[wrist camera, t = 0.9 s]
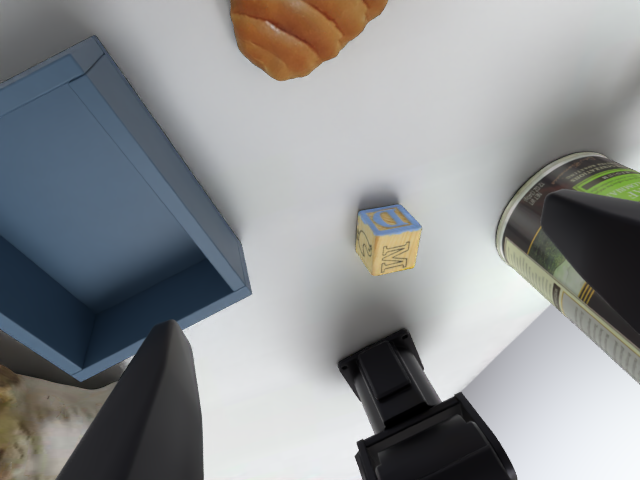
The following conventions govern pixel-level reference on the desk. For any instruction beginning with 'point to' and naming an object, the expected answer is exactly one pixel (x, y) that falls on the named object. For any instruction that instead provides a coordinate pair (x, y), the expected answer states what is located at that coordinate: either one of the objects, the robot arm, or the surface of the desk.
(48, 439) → the ceramic sculpture
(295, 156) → the desk surface
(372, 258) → the alphabet block
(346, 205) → the desk surface
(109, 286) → the blue open box
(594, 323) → the coffee can
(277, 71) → the pastry
